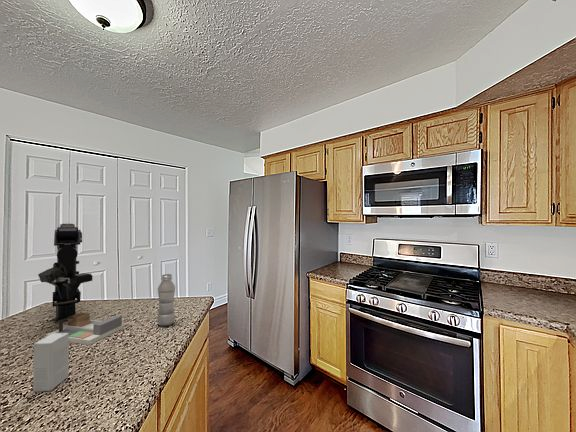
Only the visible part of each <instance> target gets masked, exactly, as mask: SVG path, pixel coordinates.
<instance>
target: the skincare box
mask: <svg viewBox="0 0 576 432" xmlns="http://www.w3.org/2000/svg"><path fill="white" fill-rule="evenodd" d="M69 343H70V342H69V333H52V334H50V335H49V336H47V337H46V336H45V337H44V338H42V339H40V340H38V341H36V342H34V343H33V367H32V368H33V369H32V370H33V371H32V372H33V376H32V377H33V379H32V381H33V382H32V384H33V385H32V386H33V387H32V388H33V389H32V390H33V393H35V392H36V393H37V392H51V391H52V390H54V389H55V388H56V387H57V386H58V385H60V384H61V383H62V382H63V381H64V380H66V379H67V378H68V377H69V351H70V350H69V349H70V348H69V347H70V345H69Z"/></svg>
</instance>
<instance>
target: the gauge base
mask: <svg viewBox="0 0 576 432" xmlns="http://www.w3.org/2000/svg"><path fill="white" fill-rule="evenodd" d="M122 322H123V316H122V315H113V316H110V317H108V318H106V319H103V320H97V319H96V320H95V319H90V323H89V324H87V325H85V326H82V327H78V326H70V325H68V324H63V331H61V332H59V328H58V329H56V330H54V331H51V332H48V333H46V334H45V337H47V336H49V335H50V334H52V333H69V343H73V344H74V343H75V344H81V345H87V346H90V345H92V344H95V343H96V342H98V341H101V340H102V339H104V338H107V337H109V336H110V335H113V334H114V333H115V334H116V333H117V332H119V331H121V330H123V329H124V328H125V324H123V323H122Z"/></svg>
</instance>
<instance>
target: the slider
mask: <svg viewBox="0 0 576 432" xmlns="http://www.w3.org/2000/svg"><path fill="white" fill-rule="evenodd" d="M65 320H67V325H70V326H78V327H82V326H85V325H87V324H89V323H90V320H91V319H90V313H89V312H79V313H76V315H73V316H70V317H68V318H65V319H62V320H60V321H56V322H57V323H58V329H59V332H61V331H63V325H64V322H66V321H65ZM63 321H64V322H63Z"/></svg>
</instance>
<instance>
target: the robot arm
mask: <svg viewBox="0 0 576 432" xmlns="http://www.w3.org/2000/svg"><path fill="white" fill-rule="evenodd" d="M81 243H83V231H81V229H79V227H78V226H76V225H75V224H74V223H60V224H59V226H57V228H56V229H54V239H53V246H56V249H57V250H56V251H57V252H56V258H57V260H56V262H53V265H52V267H51V268H47V269H46V270H44V271H41V272H40V273H38V274H37V275H38V278H39V282H41V283H46V284H49V285H52V286H54V287H55V288H54V291H52V308H55V317H54V318H52V319H51V321H54V322H58V321H60V320H62V319H65V318H68V317H70V316H73V315H76V314H77V313H76V311H77V310H76V309H77V307H76V304H79V303H80V302H81V299H82V298H81V295H82V291H80V289H79V287H80V285H81V284H83V283H88V282H92V281H93V277H94V276H93V274H91V273H88V272H87V273H86V272H85V273H84V272H83V273H80V271H79V270H77V265H79V264H80V260H77V257H78V247H77V246H78V245H81ZM64 322H68V320H65V321H63V323H64Z"/></svg>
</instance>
